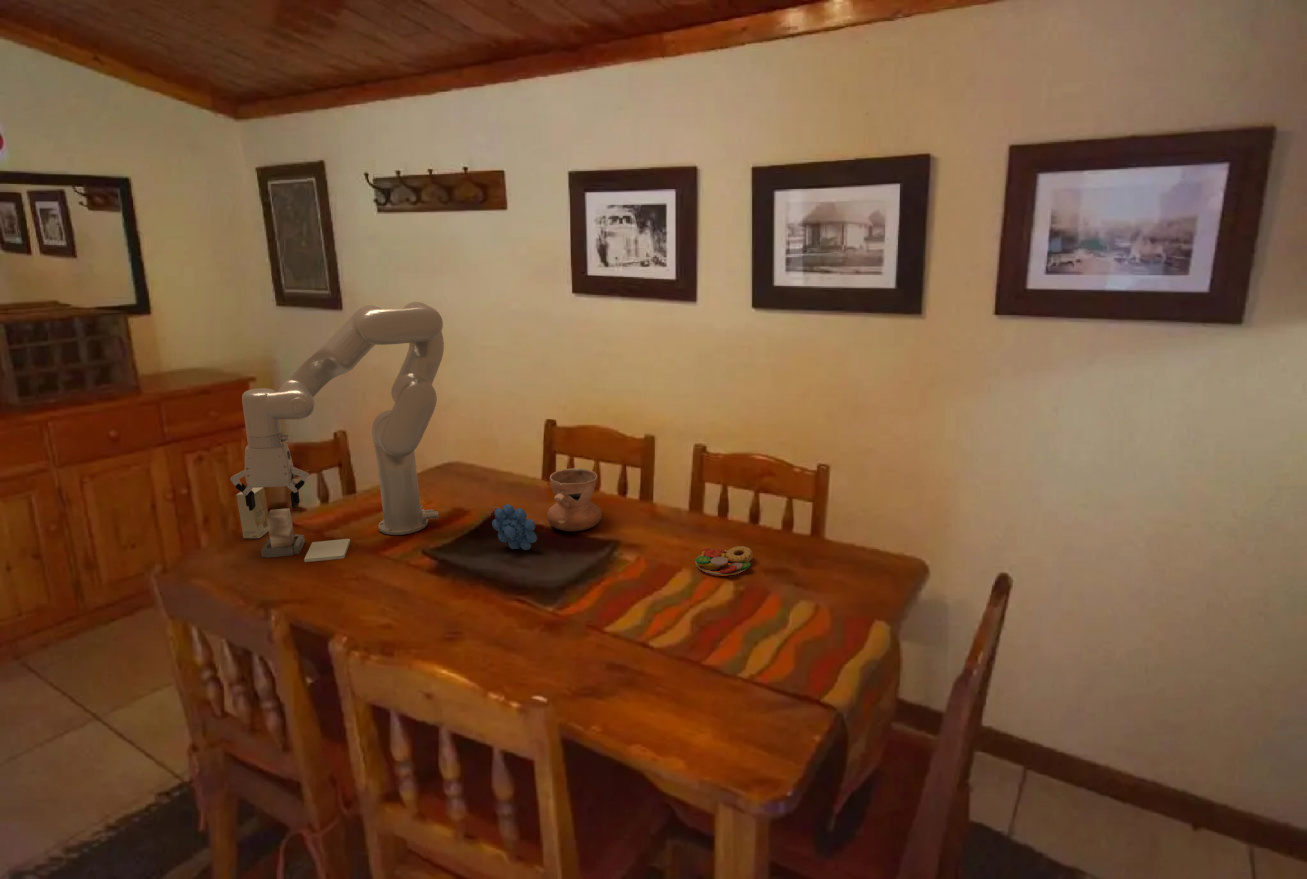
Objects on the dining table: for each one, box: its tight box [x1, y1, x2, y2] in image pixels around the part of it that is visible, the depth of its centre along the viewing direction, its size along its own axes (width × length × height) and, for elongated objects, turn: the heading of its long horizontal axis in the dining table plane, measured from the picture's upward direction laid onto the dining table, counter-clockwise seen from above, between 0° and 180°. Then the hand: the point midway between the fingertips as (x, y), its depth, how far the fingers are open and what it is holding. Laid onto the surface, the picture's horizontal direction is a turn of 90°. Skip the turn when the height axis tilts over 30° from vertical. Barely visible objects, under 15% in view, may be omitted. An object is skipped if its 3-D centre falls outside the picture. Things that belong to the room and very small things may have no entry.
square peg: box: [266, 508, 295, 548], centre depth 190 cm, size 4×4×10 cm
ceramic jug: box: [546, 467, 603, 532], centre depth 203 cm, size 18×14×14 cm
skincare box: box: [235, 487, 269, 539], centre depth 199 cm, size 6×4×12 cm
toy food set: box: [694, 545, 754, 576], centre depth 180 cm, size 13×13×3 cm
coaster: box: [303, 538, 351, 563], centre depth 190 cm, size 9×10×1 cm
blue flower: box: [491, 503, 538, 551], centre depth 188 cm, size 12×7×12 cm, turn 75°
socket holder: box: [260, 533, 306, 559], centre depth 191 cm, size 8×8×2 cm
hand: (273, 507), depth 188 cm, fingers open, 9 cm apart
